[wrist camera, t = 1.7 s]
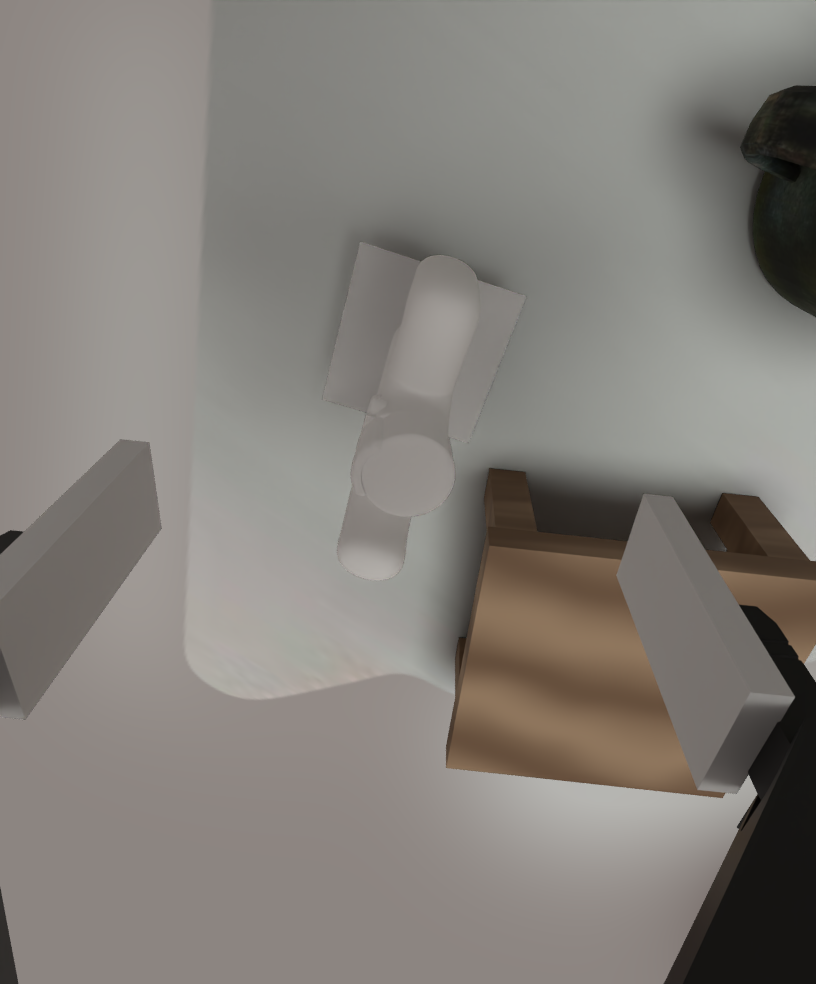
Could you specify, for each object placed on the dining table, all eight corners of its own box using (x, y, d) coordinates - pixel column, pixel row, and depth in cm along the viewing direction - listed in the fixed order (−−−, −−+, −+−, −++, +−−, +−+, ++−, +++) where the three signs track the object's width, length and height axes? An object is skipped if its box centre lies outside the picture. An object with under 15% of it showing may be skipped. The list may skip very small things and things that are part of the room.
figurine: (528, 253, 28) (590, 366, 15) (460, 429, 33) (465, 627, 20) (376, 202, 27) (310, 276, 15) (329, 390, 32) (249, 569, 20)
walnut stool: (481, 459, 34) (489, 545, 27) (771, 490, 34) (851, 584, 27) (446, 662, 42) (446, 767, 35) (678, 687, 42) (722, 797, 35)
